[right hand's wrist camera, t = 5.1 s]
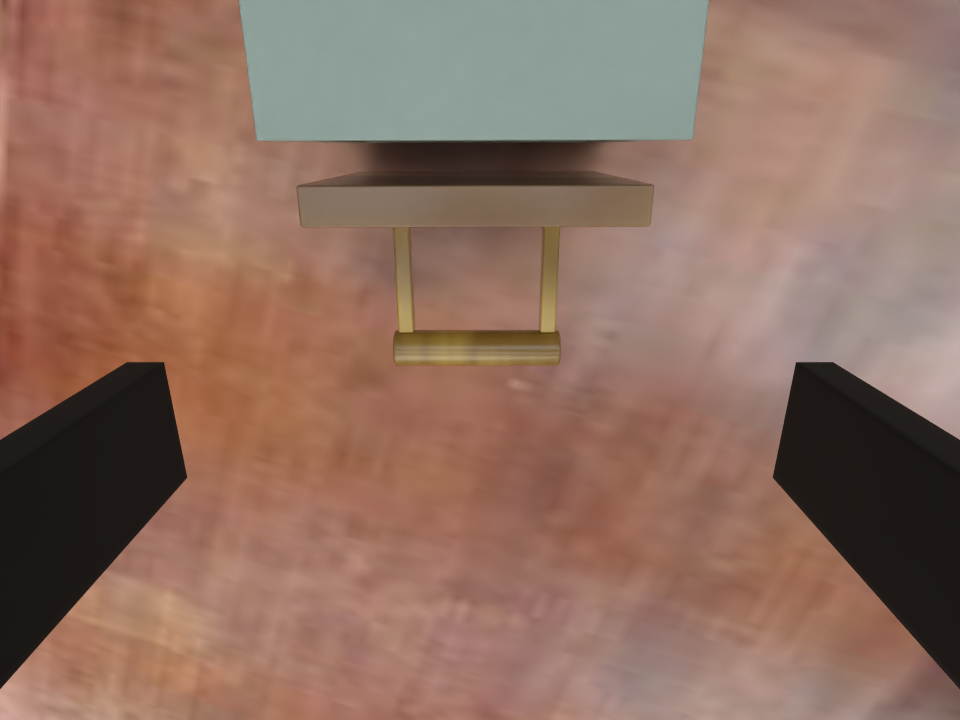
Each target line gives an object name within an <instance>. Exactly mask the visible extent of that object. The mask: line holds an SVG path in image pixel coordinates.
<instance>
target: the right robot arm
mask: <svg viewBox="0 0 960 720" xmlns="http://www.w3.org/2000/svg"><path fill="white" fill-rule="evenodd" d="M186 478H187V474H186V469H185V465H184V460H183V455H182V450H181V445H180V440H179V435H178V430H177V425H176V420H175V415H174V410H173V405H172V400H171V395H170V390H169V385H168V380H167V375H166V370H165V366H164V362H127V363H125V364H123V365H122V366H120V367H119V368H117V369H115V370H114V371H112V372H110V373H109V374H107V375H105V376H104V377H102V378H101V379H99V380H97V381H96V382H94V383H92V384H91V385H89V386H88V387H86V388H84V389H83V390H81V391H79V392H78V393H76V394H74V395H73V396H71V397H70V398H68V399H66V400H65V401H63V402H61V403H60V404H58V405H56V406H55V407H53V408H52V409H50V410H48V411H47V412H45V413H43V414H42V415H40V416H38V417H37V418H35V419H34V420H32V421H30V422H29V423H27V424H25V425H24V426H22V427H21V428H19V429H17V430H16V431H14V432H12V433H11V434H9V435H7V436H6V437H4V438H3V439H1V440H0V689H1V688H2V686H3V685H4V684H5V683H6V682H7V681H8V680H9V679H10V677H11V676H12V675H13V674H14V673H15V672H16V671H17V670H18V668H19V667H20V666H21V665H22V664H23V663H24V662H25V660H26V659H27V658H28V657H29V656H30V655H31V654H32V653H33V651H34V650H35V649H36V648H37V647H38V646H39V645H40V643H41V642H42V641H43V640H44V639H45V638H46V637H47V636H48V634H49V633H50V632H51V631H52V630H53V629H54V628H55V627H56V625H57V624H58V623H59V622H60V621H61V620H62V619H63V617H64V616H65V615H66V614H67V613H68V612H69V611H70V610H71V608H72V607H73V606H74V605H75V604H76V603H77V602H78V601H79V599H80V598H81V597H82V596H83V595H84V594H85V593H86V591H87V590H88V589H89V588H90V587H91V586H92V585H93V584H94V582H95V581H96V580H97V579H98V578H99V577H100V576H101V574H102V573H103V572H104V571H105V570H106V569H107V568H108V567H109V565H110V564H111V563H112V562H113V561H114V560H115V559H116V558H117V556H118V555H119V554H120V553H121V552H122V551H123V550H124V548H125V547H126V546H127V545H128V544H129V543H130V542H131V541H132V539H133V538H134V537H135V536H136V535H137V534H138V533H139V532H140V530H141V529H142V528H143V527H144V526H145V525H146V524H147V522H148V521H149V520H150V519H151V518H152V517H153V516H154V515H155V513H156V512H157V511H158V510H159V509H160V508H161V507H162V505H163V504H164V503H165V502H166V501H167V500H168V499H169V498H170V496H171V495H172V494H173V493H174V492H175V491H176V490H177V489H178V487H179V486H180V485H181V484H182V483H183V482H184V481H185V479H186ZM773 478H774V479H775V481H776V482H777V483H778V484H779V485H780V486H781V487H782V489H783V490H784V491H785V492H786V493H787V494H788V495H789V496H790V498H791V499H792V500H793V501H794V502H795V503H796V504H797V505H798V507H799V508H800V509H801V510H802V511H803V512H804V513H805V515H806V516H807V517H808V518H809V519H810V520H811V521H812V522H813V524H814V525H815V526H816V527H817V528H818V529H819V530H820V532H821V533H822V534H823V535H824V536H825V537H826V538H827V539H828V541H829V542H830V543H831V544H832V545H833V546H834V547H835V548H836V550H837V551H838V552H839V553H840V554H841V555H842V556H843V558H844V559H845V560H846V561H847V562H848V563H849V564H850V565H851V567H852V568H853V569H854V570H855V571H856V572H857V573H858V574H859V576H860V577H861V578H862V579H863V580H864V581H865V582H866V584H867V585H868V586H869V587H870V588H871V589H872V590H873V591H874V593H875V594H876V595H877V596H878V597H879V598H880V599H881V601H882V602H883V603H884V604H885V605H886V606H887V607H888V608H889V610H890V611H891V612H892V613H893V614H894V615H895V616H896V617H897V619H898V620H899V621H900V622H901V623H902V624H903V625H904V627H905V628H906V629H907V630H908V631H909V632H910V633H911V634H912V636H913V637H914V638H915V639H916V640H917V641H918V642H919V643H920V645H921V646H922V647H923V648H924V649H925V650H926V651H927V653H928V654H929V655H930V656H931V657H932V658H933V659H934V660H935V662H936V663H937V664H938V665H939V666H940V667H941V668H942V670H943V671H944V672H945V673H946V674H947V675H948V676H949V677H950V679H951V680H952V681H953V682H954V683H955V684H956V685H957V686H958V688H959V689H960V440H959V439H957V438H956V437H954V436H953V435H951V434H949V433H948V432H946V431H944V430H943V429H941V428H939V427H938V426H936V425H935V424H933V423H931V422H930V421H928V420H926V419H925V418H923V417H922V416H920V415H918V414H917V413H915V412H913V411H912V410H910V409H908V408H907V407H905V406H904V405H902V404H900V403H899V402H897V401H895V400H894V399H892V398H890V397H889V396H887V395H886V394H884V393H882V392H881V391H879V390H877V389H876V388H874V387H872V386H871V385H869V384H868V383H866V382H864V381H863V380H861V379H859V378H858V377H856V376H855V375H853V374H851V373H850V372H848V371H846V370H845V369H843V368H841V367H840V366H838V365H837V364H835V363H833V362H796V366H795V370H794V375H793V380H792V385H791V390H790V395H789V400H788V405H787V410H786V415H785V420H784V425H783V430H782V435H781V440H780V445H779V450H778V455H777V460H776V464H775V469H774V474H773Z"/></svg>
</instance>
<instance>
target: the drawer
mask: <svg viewBox="0 0 960 720" xmlns="http://www.w3.org/2000/svg"><path fill="white" fill-rule="evenodd" d="M653 193H654V185H652V184H647V183H643V182H638V181H634V180H630V179H625V178H621V177H616V176H612V175H607V174H603V173H599V172H594V171H528V172H358V173H353V174H349V175H344V176H340V177H335V178H330V179H326V180H321V181H317V182H312V183H307V184H303V185H298V186H297V197H298V206H299V216H300V225H301V227H303V228H309V227H393V234H394V253H395V271H396V290H397V309H398V327H399V330H397V331H395V334H394V339H393V356H394V362H395V365H397V366H557V365H559V362H560V355H561V340H560V333H559V331H558V330H555V325H556V303H557V280H558V258H559V236H560V227H648V226H650V223H651V213H652V203H653ZM411 227H542V253H541V282H540V311H539V329H540V330H414V329H415V315H414V292H413V269H412V246H411Z"/></svg>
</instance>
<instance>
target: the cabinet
mask: <svg viewBox="0 0 960 720" xmlns="http://www.w3.org/2000/svg"><path fill="white" fill-rule="evenodd" d="M239 6H240V14H241V22H242V30H243V38H244V46H245V53H246V61H247V69H248V77H249V85H250V93H251V100H252V108H253V116H254V124H255V132H256V139H257V140H258V141H285V142H331V143H513V142H632V141H667V140H692V139H693V134H694V125H695V117H696V108H697V99H698V91H699V82H700V74H701V65H702V57H703V48H704V40H705V31H706V23H707V14H708V6H709V0H239Z"/></svg>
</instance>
